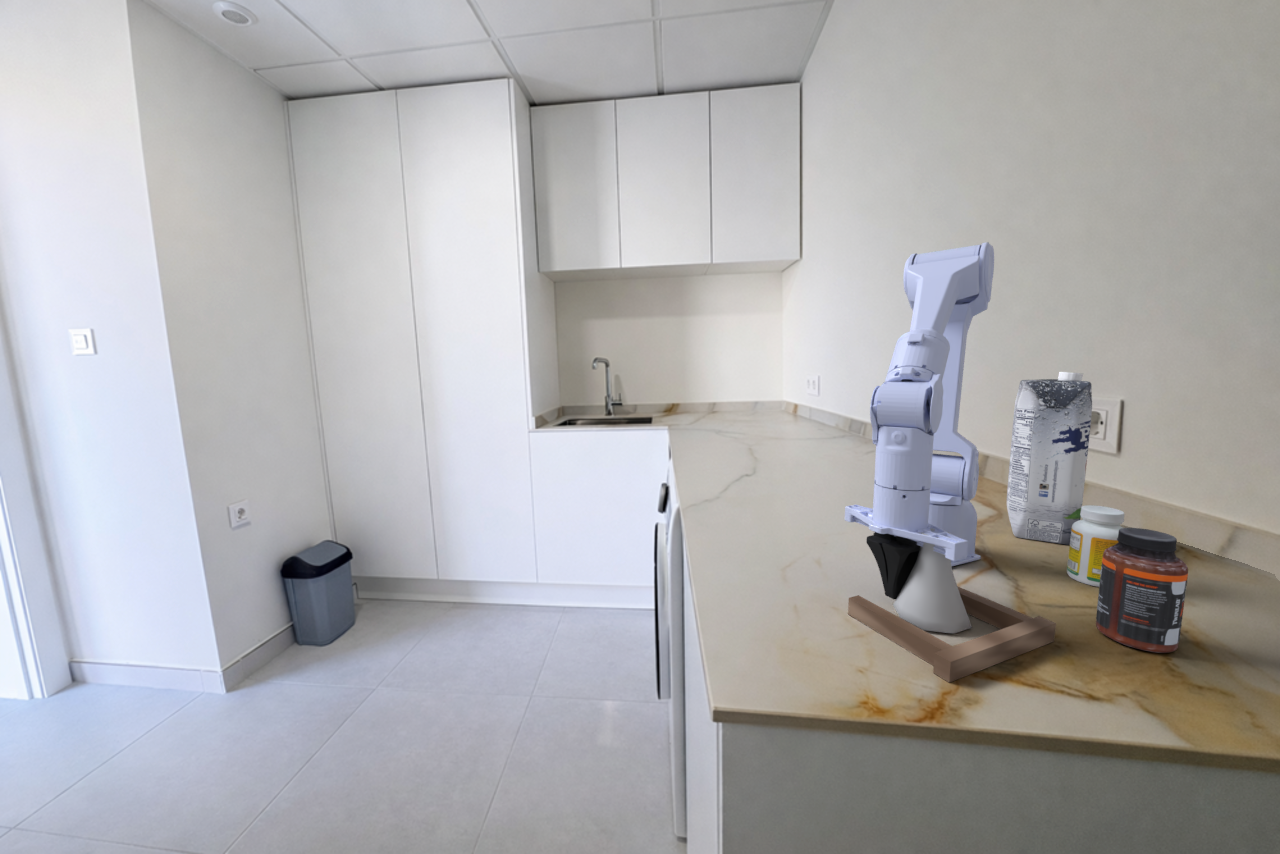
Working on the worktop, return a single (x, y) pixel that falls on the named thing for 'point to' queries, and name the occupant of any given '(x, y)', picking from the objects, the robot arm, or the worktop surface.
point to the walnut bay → (968, 656)
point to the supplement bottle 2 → (1142, 591)
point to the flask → (932, 594)
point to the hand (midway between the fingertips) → (895, 595)
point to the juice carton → (1049, 457)
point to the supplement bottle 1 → (1092, 542)
